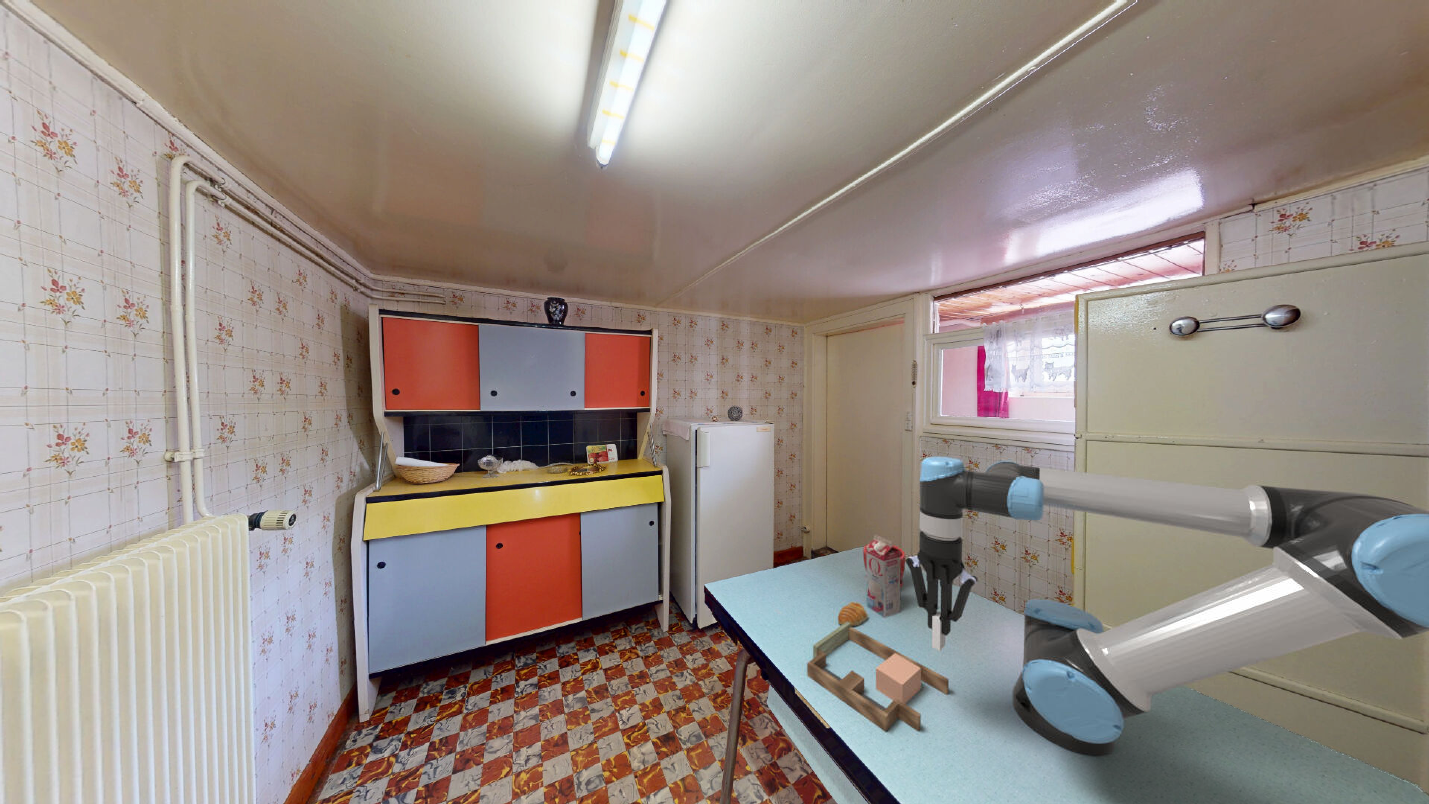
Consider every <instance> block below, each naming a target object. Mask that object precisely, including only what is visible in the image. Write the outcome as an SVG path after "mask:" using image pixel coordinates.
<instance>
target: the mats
mask: <svg viewBox="0 0 1429 804" xmlns="http://www.w3.org/2000/svg"><path fill="white" fill-rule="evenodd" d="M821 669H822V670H823V671H825V672H826V673H828V674H829V675H831V676H832V677H834V678H835V679H837V680H838V681H841V680H842V679H843V678H841V677H839V676H838V675H836V674H835V673H834V672H832V671H830V670H829V669H828V668H827V667H826V666H825V667H823V668H821ZM860 696H862V697H863V698H865V699H866V700H868V701H869V702H871V703H872V704H874V705H875V706H877V707H878V708H880V709H881V710H883V711H884V710H885V709H886V708H887V707H885V706H884V705H882V704H880V703H878V702H877V701H875V700H874V699H873V698H871V697H870V696H868V695H867V694H865V693H864V692H863V693H861V694H860Z"/></svg>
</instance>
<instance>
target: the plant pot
mask: <svg viewBox="0 0 1429 804" xmlns="http://www.w3.org/2000/svg"><path fill="white" fill-rule="evenodd" d="M869 544H870V543H868V544H866V545H864V547H863V549H862V550H863V552H862V553H863V554H862V556H863V565H864V569H865V571H866V572H867V546H868V545H869ZM893 548H895V549H898V550H899V551H900V589H901V588H902V587H903V585H904V581H903V579H902V578H903V576H904V573H905V569H906V554H905V551H903V549H901V548H900V547H898V546H897V545H893ZM865 579H866V580H867V573H866V574H865Z"/></svg>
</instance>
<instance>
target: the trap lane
mask: <svg viewBox="0 0 1429 804" xmlns="http://www.w3.org/2000/svg"><path fill="white" fill-rule="evenodd" d="M848 640H849V641H851V642H853V643H855V645H858V646H860V647H862V648H863V649H865V650H867V651H869V652H870V653H872V654H874V655H876V656H877V657H880V658H881V659H883V660H884V661H886V660H887V659H888V658H889V657H891V656H892V655H893V654H894V653H896V654H897V655H899V656H901V657H903V658H904V659H906V660H908V661H909V662H911V663H913V664H915V665H916V666H918V667H920V668H921V682H923V683H926V684H927V685H929V686H930V687H932V688H934V689H936V690H938V691H939V692H941V693H943V694H945V695H948V694H949V688H950V687H949V678H947V677H946V676H943V675H942V674H940V673H937V672H936V671H934V670H932V669H930V668H928V667H927V666H925V665H923V664H921V663H919V662H918V661H915V660H914V659H912V658H910V657H908V656H907V655H904V654H903V653H900V652H899V651H897V650H895V649H893V648H891V647H890V646H887V645H885V644H884V643H882V642H880V641H878V640H876V639H874V638H873V637H871V636H869V635H867V634H865V633H863V632H861V631H859V630H858V629H856V628H854V627H853V626H852V627H851V623H849V622H846V623H844V624H843V625H841V624H840V626H838V627H837V628H836V629H835V630H833V631H832V632H830V633H829V634H827V635H826V636H824V637H823V638H821V639H820V640H818V641H817V642H816V643H815V644H813V646H812V647H813V648H812V649H813V651H812V652H813V653H812V655H813V656H812V659H811V660H809V661H808V662H807V663H806V666H807V667H806V669H807V670H806V675H807V676H808V677H809V678H810V679H811V680H813V681H814V682H816V683H817V684H819V685H820V686H821V687H822V688H824V689H825V690H827V692H829V693H831V694H832V695H834V696H835V697H836V698H838V700H841V701H842V702H844V703H845V704H846V705H847V706H849V707H850V708H852V709H853V710H855V711H856V712H857V713H859V715H862V716H863V717H865V718H866V719H868V720H869V722H871V723H872V724H874V725H875V726H876V727H878V728H880V729H881V730H882V731H883V732H885V733H887V732H888V730H889V729H890V728H891V727H892V726H893V724H894V723H895V722H896V721H897V720H898V719H899V720H900V721H902V722H903V723H904V724H907V725H908V726H910V727H912V728H913V729H914V730H916V731H917V732H919V731H920V730H921V727H922V726H921V724H922V723H921V721H922V719H921V718H922V717H921V713H920V712H919V711H917V710H915V709H914V708H913V707H910V706H909V705H907V703H906V704H904V703H903V702H901V701H899V700H898V699H896V698H895V699H894V700H891V701H892V702H890V703H889V705H888V706H886V707H885V708H886V709H885V710H884V711H883V710H881V709H880V708H878V707H877V706H875V705H874V704H872V703H871V702H869V701H868V700H866V699H865V698H863V697H862V696H860V694H861V693H864V692H865V677H863V676H861V675H859V674H858V673H857V672H855V671H853V670H851V671H850V672H848V673H847V674H846V675H845V676H844V677H842V678H841V679H842V680H841V681H838V680H837V679H835V678H834V677H832V676H831V675H829V674H828V673H826V672H825V671H823V670H822V669H821V668H823V667H825V668H826V666H827V656H828V655H830V654H831V653H832V652H834V651H835V650H836V649H838V648H839V647H840V646H841V645H843V644H844V643H846V642H847V641H848Z"/></svg>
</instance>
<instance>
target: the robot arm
mask: <svg viewBox="0 0 1429 804" xmlns="http://www.w3.org/2000/svg"><path fill="white" fill-rule="evenodd" d="M1044 507H1051V508H1057V509H1063V510H1064V509H1065V510H1069V511H1077V512H1083V513H1089V514H1096V515H1100V516H1108V517H1112V518H1119V519H1126V520H1132V521H1137V522H1144V523H1151V524H1157V525H1163V526H1169V527H1176V528H1181V529H1187V530H1194V531H1200V532H1207V533H1212V534H1219V535H1224V536H1231V537H1237V538H1241V539H1243V540H1245V541H1246V542H1247V543H1248V544H1249V545H1251V546H1254V547H1257V548H1259V547H1260V548H1266V549H1271V550H1273V552H1272V553H1273V561H1272V563H1271V564H1269V565H1267V566H1264V567H1261V568H1259V569H1257V570H1254V571H1252V572H1250V573H1247V574H1245V575H1242V576H1239V577H1237V578H1234V579H1232V580H1230V581H1226V582H1224V583H1222V584H1220V585H1219V584H1218V585H1217V586H1214V587H1212V588H1209V589H1207V590H1205V591H1202V592H1199V593H1197V594H1195V595H1192V596H1189V597H1187V598H1185V599H1182V600H1179V601H1176V602H1175V603H1172V604H1170V605H1167V606H1164V607H1162V608H1159V609H1158V610H1157V609H1156V610H1155V611H1152V612H1150V613H1147V614H1145V615H1143V616H1139V617H1138V618H1135V619H1133V620H1132V619H1131V620H1130V621H1127V622H1125V623H1123V624H1119V625H1118V626H1115V627H1112V628H1110V629H1107V630H1105V631H1104V624H1103V623H1102V622H1101V620H1100V619H1098V618H1097V617H1096V616H1094V615H1093V614H1091V613H1090V612H1088V611H1085V610H1083V609H1082V608H1081V609H1080V608H1078V607H1076V606H1073V605H1069V604H1066V603H1063V602H1059V601H1055V600H1049V599H1041V598H1040V599H1039V598H1035V599H1034V598H1033V599H1030V600H1028V601H1026V602H1025V605H1024V610H1023V612H1022V613H1023V614H1024V618H1023V619H1024V621H1023V623H1024V624H1023V625H1024V629H1023V660H1022V661H1023V665H1022V671H1021V672H1020V674H1019V676H1018V678H1017V680H1016V682H1015V684H1014V686H1013V688H1012V705H1013V708H1014V709H1015V712H1016V714H1017V715H1018V716H1019V717H1020V718H1021V720H1022V721H1023V722H1024V723H1025V724H1026V725H1027V726H1029V727H1030V728H1031V729H1032V730H1033V731H1035V732H1036V733H1037V734H1039V735H1040V736H1041V737H1043V738H1045V739H1047V740H1048V741H1050V742H1052V743H1054V744H1056V745H1057V746H1060V747H1062V748H1065V749H1066V750H1069V751H1073V752H1075V753H1078V754H1083V755H1088V756H1104V755H1107V754H1110V753H1111V752H1112V751H1113V750H1114V747H1115V741H1116V740H1117V739H1119V738H1120V736H1121V734H1122V733H1123V729H1124V728H1125V720H1124V719H1127V718H1131V717H1135V716H1139V715H1141V714H1144V713H1147V712H1150V711H1151V710H1152V698H1153V695H1157V694H1159V693H1163V692H1166V691H1170V690H1173V689H1176V688H1179V687H1183V686H1187V685H1189V684H1192V683H1195V682H1198V681H1202V680H1205V679H1209V678H1212V677H1216V676H1219V675H1223V674H1225V673H1229V672H1232V671H1235V670H1238V669H1242V668H1245V667H1248V666H1251V665H1255V664H1258V663H1261V662H1265V661H1267V660H1271V659H1274V658H1277V657H1281V656H1285V655H1288V654H1290V653H1294V652H1297V651H1300V650H1304V649H1308V648H1310V647H1313V646H1317V645H1321V644H1323V643H1327V642H1331V641H1333V640H1336V639H1339V638H1343V637H1347V636H1350V635H1353V634H1356V633H1370V634H1373V635H1377V636H1378V635H1379V636H1382V637H1387V638H1392V639H1396V640H1403V639H1405V638H1409V637H1412V636H1416V635H1421V634H1423V633H1427V632H1429V510H1426V509H1423V508H1420V507H1416V506H1413V505H1411V504H1408V503H1405V502H1403V501H1400V500H1395V499H1391V498H1388V497H1384V496H1383V497H1382V496H1376V495H1372V494H1368V493H1367V494H1366V493H1358V492H1357V493H1356V492H1346V491H1334V490H1333V491H1332V490H1320V489H1319V490H1318V489H1306V488H1305V489H1304V488H1294V487H1293V488H1291V487H1278V486H1267V485H1260V484H1259V485H1257V484H1250V485H1248V486H1247V487H1246V486H1245V487H1244V488H1242V489H1236V488H1227V487H1220V486H1219V487H1218V486H1209V485H1201V484H1200V485H1199V484H1191V483H1181V482H1172V481H1164V480H1163V481H1162V480H1158V479H1157V480H1155V479H1147V478H1140V477H1139V478H1137V477H1130V476H1129V477H1128V476H1118V475H1110V474H1101V473H1093V472H1084V471H1083V472H1082V471H1075V470H1065V469H1056V468H1047V467H1038V466H1037V467H1035V466H1031V465H1030V466H1029V465H1021V464H1020V463H1016V462H1014V461H1010V460H1002V461H1001V460H1000V461H998V462H995V463H993V464H991V465H990V466H989V467H987V469H986V470H985V472H981V471H980V472H978V471H970V470H966V467H965V464H964V461H963V460H961V459H959V458H954V457H953V458H952V457H949V456H928V457H925V458H924V459H923V460H922V461H921V466H920V478H919V527H918V528H919V535H918V536H919V537H918V538H919V540H918V541H919V542H918V544H919V545H918V546H919V550H918V552H917V554H916V555H911V556H908V558H905V564H906V565H907V567H908V568H909V570H910V576H911V579H912V582H913V583H912V584H913V588H914V593H915V597H916V602H917V605H918V607H920V608H921V609H925V610H926V612H927V627H928V629H931V630H932V631H931V632H932V634H931V647H932V648H933V649H935V650H937V651H939V652H940V651H942V649H943V648H944V647H945V646H946V636H949V634H950V632H951V629H952V628H951V627H952V626H951V624H952V622H954V623H956V622H958V621H959V620H960V619H961V618H962V616H963V613H964V610H965V607H966V604H967V601H968V598H969V596H970V593H971V589H972V587H973V586H974V585H976V583H977V582H978V581H979V579H978V577H977V576H975V575H971V574H970V573H969V572H968V571H967V570H966V568H965V564H964V563H963V538H961V537H962V536H963V522H964V521H963V520H964V513H963V511H964V510H967V511H972V512H977V513H984V514H989V515H994V516H1000V517H1005V518H1012V519H1014V520H1024V521H1035V522H1036V521H1040V520H1041V519H1043V516H1044ZM922 568H923V570H924V572H925V574H926V577H925V578H926V579H924V575H923V574H924V573H923V571H922ZM959 576H960V583H961V585H960V587H959V590H958V593H957V596H956V600H955V602H954V605H953V583H954V580H955V579H956V578H957V577H959ZM925 581H926V583H925ZM939 586H940V606H939ZM926 587H927V588H926ZM952 607H953V608H952ZM938 610H940V611H938ZM951 621H952V622H951Z"/></svg>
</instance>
